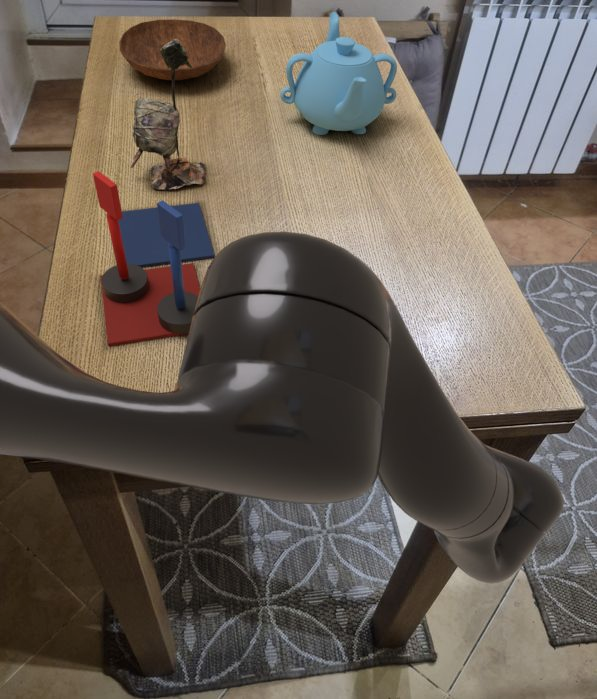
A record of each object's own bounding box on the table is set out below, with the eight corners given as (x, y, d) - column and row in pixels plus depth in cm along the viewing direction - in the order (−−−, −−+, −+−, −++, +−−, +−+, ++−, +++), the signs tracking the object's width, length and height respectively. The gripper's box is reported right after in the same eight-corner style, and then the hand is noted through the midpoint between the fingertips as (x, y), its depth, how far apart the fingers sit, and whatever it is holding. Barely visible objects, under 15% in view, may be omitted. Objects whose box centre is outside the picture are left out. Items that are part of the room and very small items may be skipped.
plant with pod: (140, 159, 98) (121, 28, 83) (211, 166, 98) (205, 36, 83) (127, 189, 92) (104, 54, 77) (202, 196, 92) (194, 62, 77)
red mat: (108, 347, 72) (107, 343, 72) (101, 278, 79) (100, 275, 79) (210, 330, 75) (209, 327, 74) (193, 266, 82) (193, 262, 82)
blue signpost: (178, 340, 73) (164, 233, 61) (149, 315, 75) (130, 206, 63) (214, 317, 75) (208, 210, 63) (185, 294, 78) (174, 186, 66)
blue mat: (124, 270, 81) (123, 267, 80) (115, 215, 88) (115, 212, 88) (214, 258, 83) (214, 255, 83) (199, 205, 91) (198, 202, 90)
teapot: (326, 87, 118) (334, 9, 107) (408, 127, 110) (425, 47, 99) (266, 115, 109) (269, 33, 99) (351, 161, 101) (363, 77, 91)
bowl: (117, 96, 110) (113, 68, 107) (127, 42, 125) (124, 16, 121) (227, 97, 113) (226, 70, 109) (225, 45, 127) (224, 19, 123)
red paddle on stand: (121, 310, 75) (97, 200, 63) (94, 286, 78) (66, 177, 66) (158, 288, 78) (142, 180, 66) (131, 266, 80) (111, 158, 68)
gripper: (403, 334, 58) (283, 250, 65) (299, 419, 51) (176, 315, 58) (389, 382, 64) (280, 301, 71) (294, 465, 57) (182, 366, 64)
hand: (233, 307), depth 64 cm, fingers open, 8 cm apart
